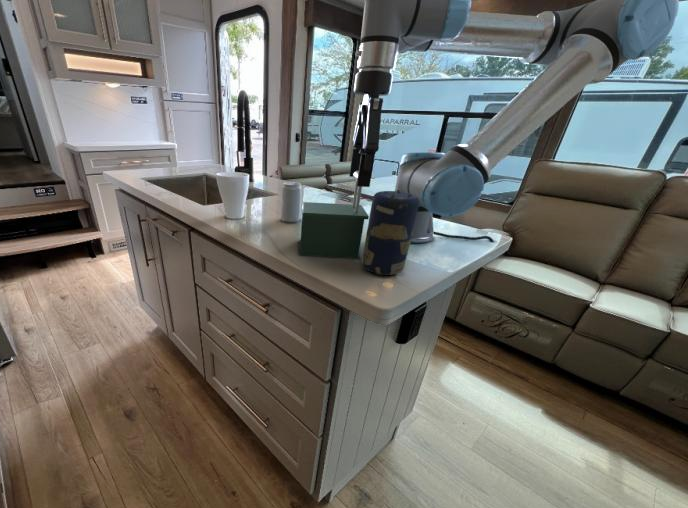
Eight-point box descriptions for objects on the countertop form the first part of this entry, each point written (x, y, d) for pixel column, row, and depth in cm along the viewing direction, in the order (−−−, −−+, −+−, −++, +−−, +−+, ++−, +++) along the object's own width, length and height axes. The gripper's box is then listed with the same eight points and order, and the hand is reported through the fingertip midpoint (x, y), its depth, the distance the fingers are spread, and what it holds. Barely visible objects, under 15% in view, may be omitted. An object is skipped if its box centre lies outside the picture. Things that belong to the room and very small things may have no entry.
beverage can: (298, 224, 102) (300, 185, 96) (278, 222, 103) (279, 183, 97) (301, 219, 108) (303, 182, 102) (283, 217, 109) (284, 180, 103)
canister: (409, 269, 74) (430, 190, 65) (391, 282, 68) (411, 196, 59) (373, 258, 79) (387, 183, 70) (353, 268, 73) (365, 188, 64)
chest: (352, 243, 88) (357, 208, 84) (358, 258, 79) (364, 219, 74) (300, 240, 89) (302, 205, 84) (299, 255, 79) (302, 216, 74)
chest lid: (361, 208, 84) (367, 169, 79) (368, 219, 74) (375, 176, 69) (302, 204, 84) (305, 166, 79) (302, 216, 74) (305, 173, 70)
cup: (222, 212, 112) (220, 171, 105) (252, 213, 111) (251, 172, 105) (215, 220, 102) (212, 176, 96) (247, 221, 102) (246, 177, 96)
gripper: (349, 78, 75) (338, 172, 86) (366, 61, 54) (348, 190, 64) (380, 79, 75) (365, 174, 86) (410, 63, 54) (385, 192, 64)
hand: (358, 181), depth 75 cm, fingers open, 13 cm apart
